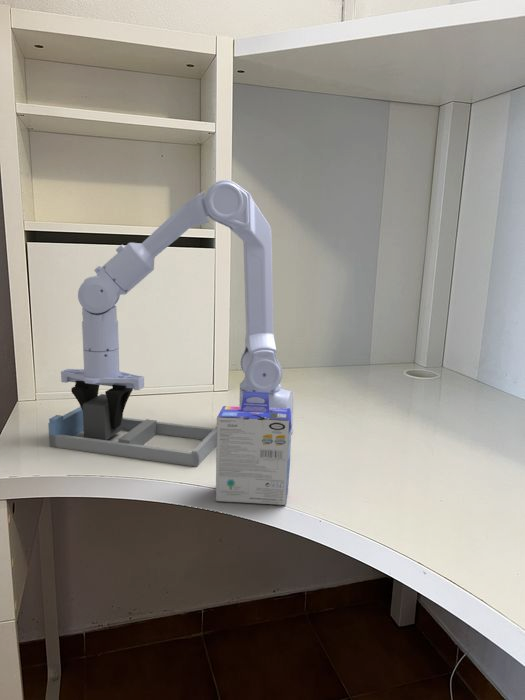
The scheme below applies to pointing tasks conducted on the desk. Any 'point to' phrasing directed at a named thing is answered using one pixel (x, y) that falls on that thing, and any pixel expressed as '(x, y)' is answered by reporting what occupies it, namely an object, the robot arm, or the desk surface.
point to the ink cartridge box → (253, 452)
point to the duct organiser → (133, 439)
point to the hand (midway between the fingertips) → (103, 425)
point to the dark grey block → (98, 419)
